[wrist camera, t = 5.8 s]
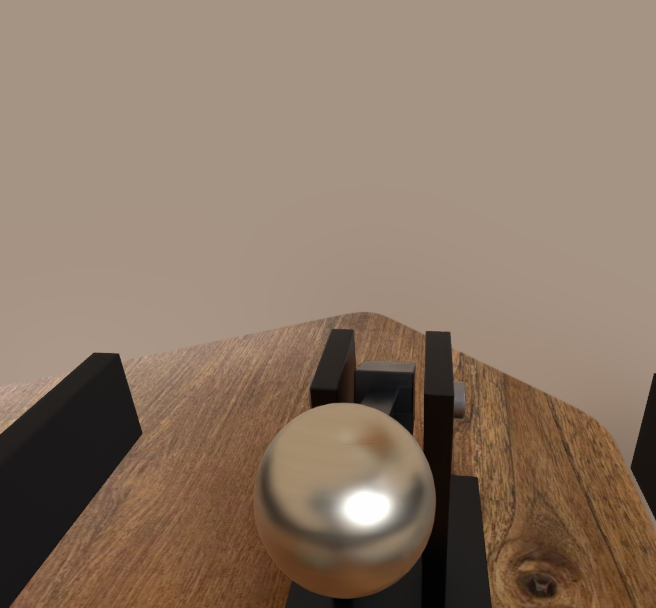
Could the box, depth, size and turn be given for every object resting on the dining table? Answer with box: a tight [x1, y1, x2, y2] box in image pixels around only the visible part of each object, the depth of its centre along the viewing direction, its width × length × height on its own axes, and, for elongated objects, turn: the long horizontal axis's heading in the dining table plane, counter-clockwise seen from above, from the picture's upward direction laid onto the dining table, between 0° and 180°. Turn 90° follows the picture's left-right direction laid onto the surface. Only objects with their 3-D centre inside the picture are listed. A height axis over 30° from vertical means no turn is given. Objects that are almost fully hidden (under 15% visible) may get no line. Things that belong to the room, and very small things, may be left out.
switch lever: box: [253, 361, 436, 599], centre depth 15 cm, size 13×4×4 cm, turn 169°
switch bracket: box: [285, 329, 492, 608], centre depth 22 cm, size 12×9×13 cm
